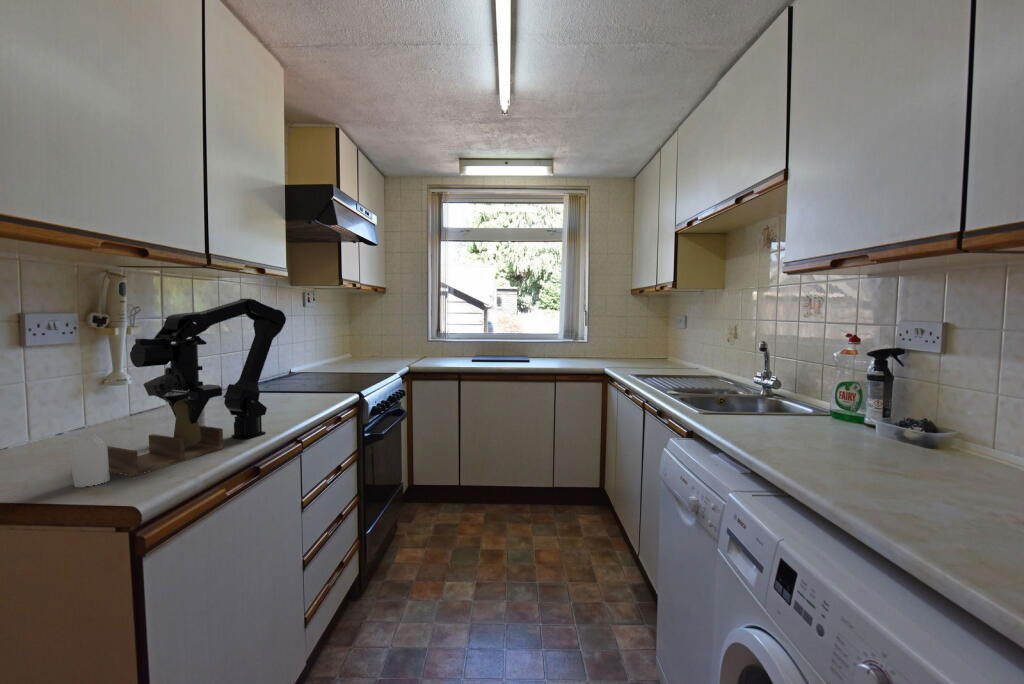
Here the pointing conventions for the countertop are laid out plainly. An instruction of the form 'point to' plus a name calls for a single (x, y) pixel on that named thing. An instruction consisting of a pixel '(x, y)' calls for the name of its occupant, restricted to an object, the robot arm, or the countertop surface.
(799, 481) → the countertop surface
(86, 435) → the grey pointed block
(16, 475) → the countertop surface
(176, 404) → the olive bottle gourd
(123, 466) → the rack
